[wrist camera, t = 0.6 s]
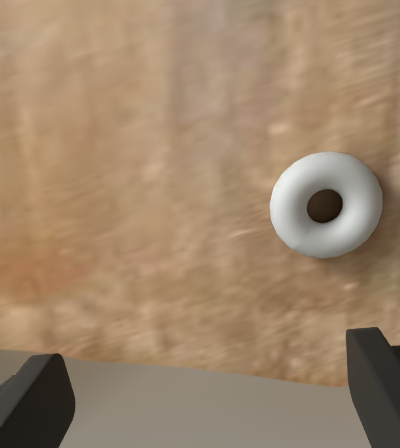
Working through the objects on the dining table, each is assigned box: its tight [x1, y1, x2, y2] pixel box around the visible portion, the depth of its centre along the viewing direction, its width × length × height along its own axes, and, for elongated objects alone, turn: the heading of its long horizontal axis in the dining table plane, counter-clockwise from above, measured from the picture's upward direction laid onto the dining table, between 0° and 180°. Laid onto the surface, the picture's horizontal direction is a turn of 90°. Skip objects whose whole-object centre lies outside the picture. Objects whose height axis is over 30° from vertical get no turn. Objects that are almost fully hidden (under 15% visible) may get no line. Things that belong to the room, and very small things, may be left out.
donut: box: [270, 151, 382, 259], centre depth 34 cm, size 10×3×10 cm
